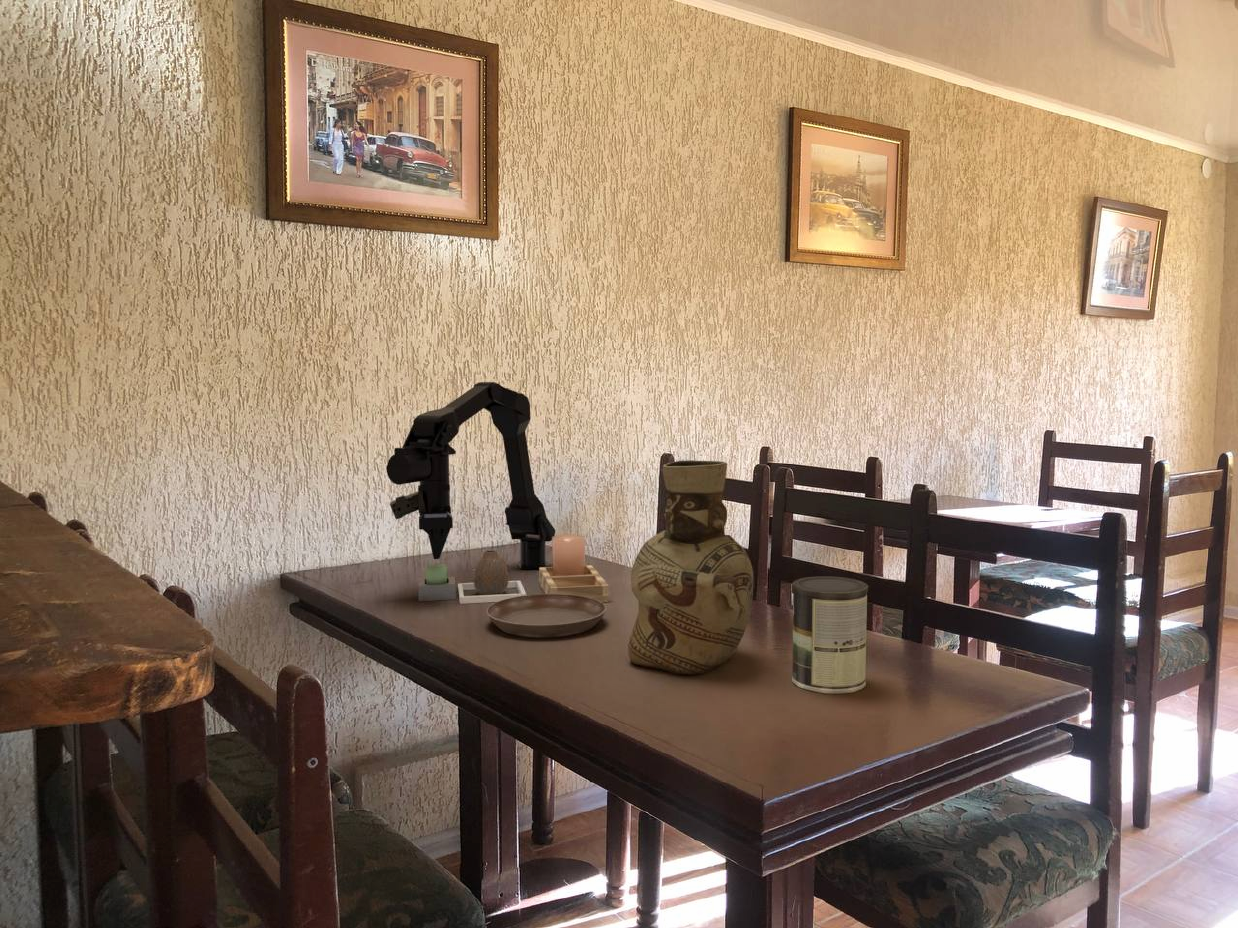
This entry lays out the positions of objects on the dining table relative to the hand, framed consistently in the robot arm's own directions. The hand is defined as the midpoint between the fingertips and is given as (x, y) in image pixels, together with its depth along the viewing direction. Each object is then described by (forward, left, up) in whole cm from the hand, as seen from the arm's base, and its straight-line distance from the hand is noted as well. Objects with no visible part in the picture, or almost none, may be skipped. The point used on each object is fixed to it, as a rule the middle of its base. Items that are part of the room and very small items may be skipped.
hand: (436, 558), depth 192 cm
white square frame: (+1, +10, -7) cm, 13 cm away
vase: (+1, +10, -8) cm, 13 cm away
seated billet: (-3, +26, -6) cm, 27 cm away
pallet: (+2, +26, -7) cm, 28 cm away
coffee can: (+66, +53, -8) cm, 85 cm away
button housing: (0, 0, -7) cm, 7 cm away
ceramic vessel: (+51, +37, -8) cm, 64 cm away
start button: (0, 0, -6) cm, 6 cm away
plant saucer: (+26, +18, -8) cm, 33 cm away
